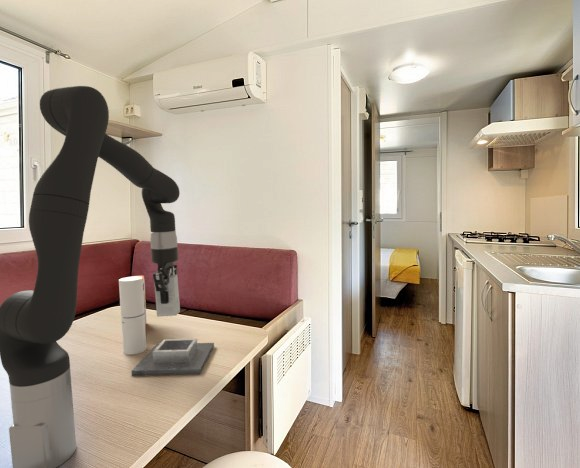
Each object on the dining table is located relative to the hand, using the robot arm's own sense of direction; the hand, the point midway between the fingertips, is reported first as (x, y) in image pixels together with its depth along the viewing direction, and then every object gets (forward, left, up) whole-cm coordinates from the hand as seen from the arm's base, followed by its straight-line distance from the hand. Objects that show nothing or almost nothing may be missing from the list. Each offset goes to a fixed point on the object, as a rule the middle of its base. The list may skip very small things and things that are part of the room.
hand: (167, 300), depth 98 cm
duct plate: (+2, -1, -20) cm, 20 cm away
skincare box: (0, 0, -4) cm, 4 cm away
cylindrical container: (+10, +16, -20) cm, 27 cm away
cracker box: (+28, +23, -20) cm, 41 cm away
